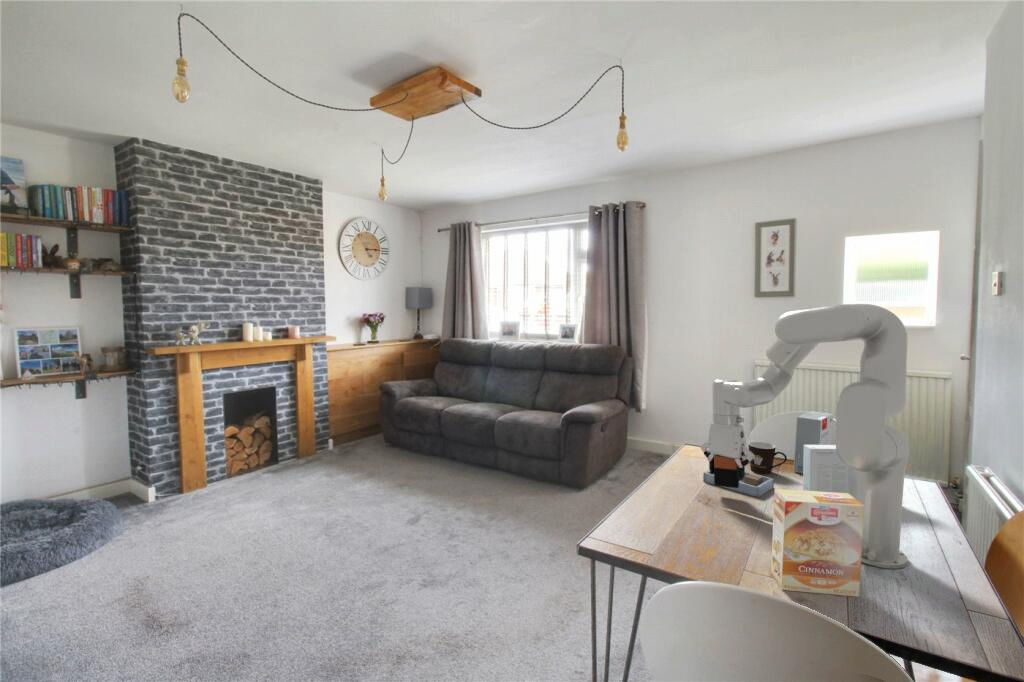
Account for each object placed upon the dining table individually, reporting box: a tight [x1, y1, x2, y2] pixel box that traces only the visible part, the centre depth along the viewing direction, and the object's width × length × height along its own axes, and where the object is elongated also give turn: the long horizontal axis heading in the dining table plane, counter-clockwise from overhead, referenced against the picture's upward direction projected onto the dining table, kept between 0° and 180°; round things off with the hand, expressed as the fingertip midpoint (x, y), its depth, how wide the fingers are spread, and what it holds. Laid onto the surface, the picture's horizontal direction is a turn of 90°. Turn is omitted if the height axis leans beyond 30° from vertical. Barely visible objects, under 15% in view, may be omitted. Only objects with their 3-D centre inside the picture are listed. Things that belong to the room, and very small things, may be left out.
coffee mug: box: [748, 440, 788, 475], centre depth 169 cm, size 12×9×10 cm
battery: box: [713, 455, 739, 488], centre depth 149 cm, size 4×7×10 cm, turn 63°
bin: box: [702, 469, 775, 498], centre depth 159 cm, size 12×18×4 cm, turn 40°
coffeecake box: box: [770, 488, 864, 598], centre depth 103 cm, size 15×7×20 cm, turn 80°
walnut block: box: [744, 473, 763, 487], centre depth 155 cm, size 4×4×4 cm
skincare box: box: [802, 444, 854, 496], centre depth 149 cm, size 21×6×16 cm, turn 84°
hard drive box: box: [793, 410, 834, 474], centre depth 173 cm, size 16×8×20 cm, turn 132°
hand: (726, 476), depth 149 cm, fingers closed on battery, 7 cm apart
